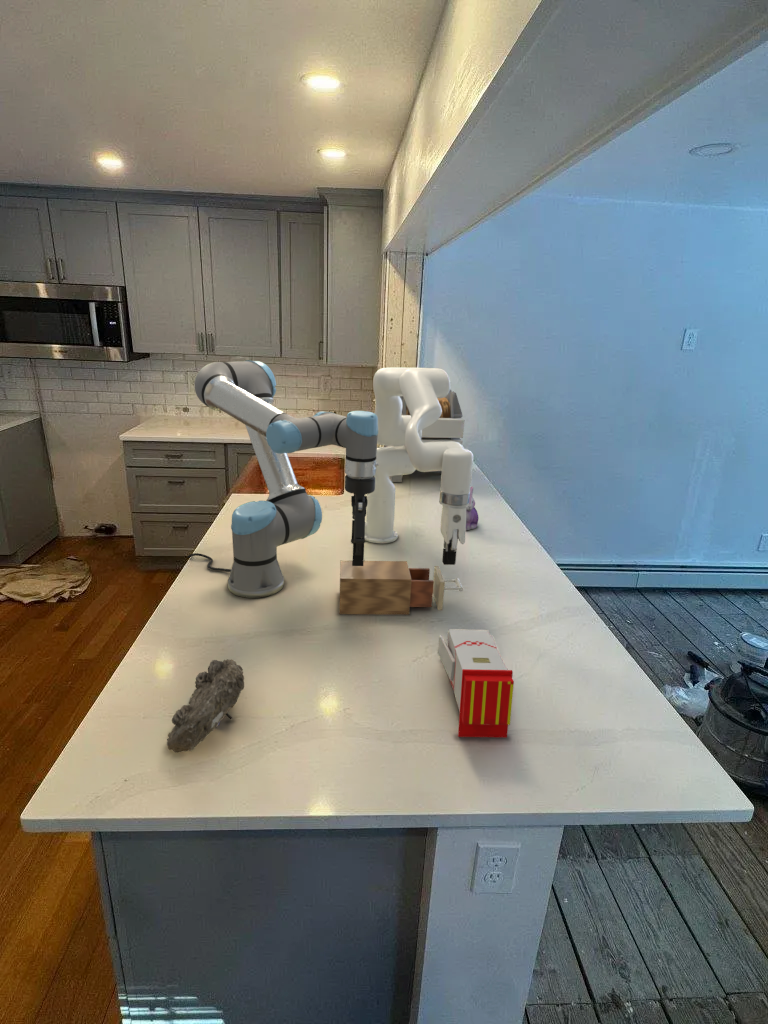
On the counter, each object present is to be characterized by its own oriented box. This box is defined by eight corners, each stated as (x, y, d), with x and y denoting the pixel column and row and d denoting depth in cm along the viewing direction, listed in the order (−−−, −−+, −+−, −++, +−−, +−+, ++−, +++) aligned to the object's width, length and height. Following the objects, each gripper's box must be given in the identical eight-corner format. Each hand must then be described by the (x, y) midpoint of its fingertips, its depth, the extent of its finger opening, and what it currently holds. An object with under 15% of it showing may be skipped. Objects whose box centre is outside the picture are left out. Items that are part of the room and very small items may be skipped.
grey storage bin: (382, 463, 289) (386, 382, 275) (445, 464, 293) (451, 384, 279) (390, 482, 257) (394, 392, 243) (460, 483, 261) (468, 394, 247)
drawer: (456, 592, 158) (458, 566, 155) (463, 610, 149) (466, 582, 146) (376, 592, 156) (377, 565, 153) (378, 609, 147) (379, 581, 144)
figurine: (464, 532, 203) (468, 492, 198) (448, 523, 212) (451, 484, 206) (485, 529, 207) (489, 490, 202) (469, 519, 216) (472, 482, 211)
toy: (488, 613, 130) (523, 677, 101) (484, 667, 133) (517, 744, 104) (435, 612, 130) (455, 676, 101) (432, 666, 133) (451, 743, 103)
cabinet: (404, 594, 158) (407, 561, 154) (409, 614, 147) (411, 579, 144) (339, 594, 156) (340, 560, 153) (339, 614, 146) (340, 578, 143)
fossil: (192, 660, 117) (244, 628, 112) (224, 691, 120) (276, 661, 115) (142, 746, 98) (202, 712, 93) (182, 779, 101) (242, 748, 96)
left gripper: (378, 491, 128) (374, 576, 135) (372, 462, 151) (369, 535, 159) (345, 490, 127) (342, 575, 135) (344, 461, 151) (342, 534, 158)
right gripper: (475, 507, 136) (468, 576, 143) (463, 488, 150) (457, 552, 157) (444, 507, 136) (439, 576, 142) (435, 488, 150) (430, 551, 156)
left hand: (357, 553), depth 147 cm, fingers open, 13 cm apart
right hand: (448, 563), depth 149 cm, fingers closed
